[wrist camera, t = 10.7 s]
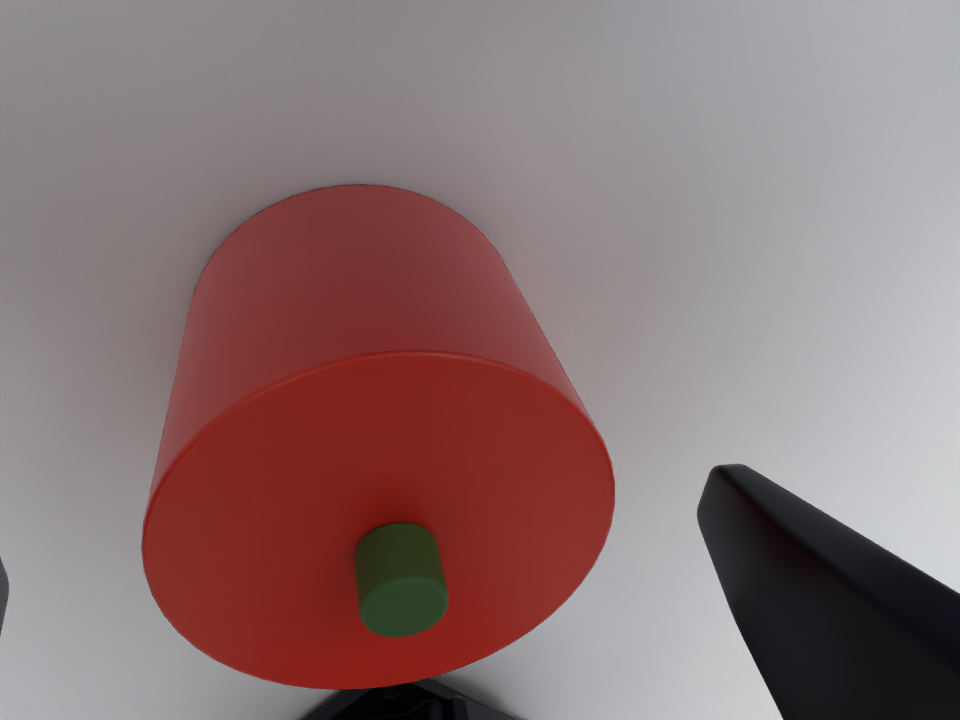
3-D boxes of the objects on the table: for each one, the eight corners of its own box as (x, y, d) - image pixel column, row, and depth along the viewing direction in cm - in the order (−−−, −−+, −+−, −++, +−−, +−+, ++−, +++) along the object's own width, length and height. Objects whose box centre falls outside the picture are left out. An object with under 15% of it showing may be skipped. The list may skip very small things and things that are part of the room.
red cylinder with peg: (360, 506, 15) (395, 796, 10) (111, 348, 12) (-1, 661, 7) (576, 332, 14) (727, 572, 9) (363, 105, 10) (424, 291, 6)
